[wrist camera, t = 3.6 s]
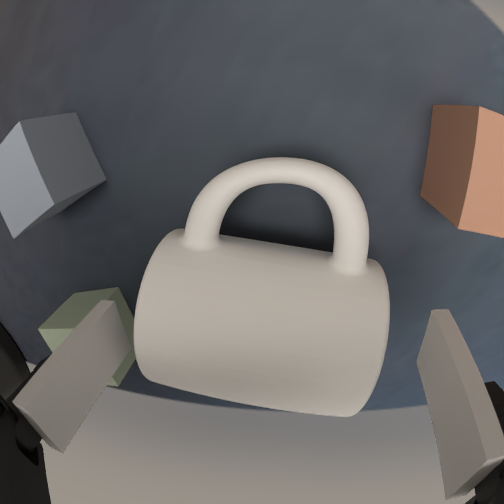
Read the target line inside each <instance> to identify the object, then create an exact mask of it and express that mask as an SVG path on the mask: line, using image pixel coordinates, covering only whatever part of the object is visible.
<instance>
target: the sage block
mask: <svg viewBox="0 0 504 504" xmlns="http://www.w3.org/2000/svg"><path fill="white" fill-rule="evenodd" d="M101 300H109V301H115V304H116V307H117V310H118V313H119V316H120V319H121V321H122V324H123V327H124V330H125V332H126V335H127V337H128V340H129V343H130V345H131V349H130V351H129V352H128V354H127V355H126V357H125V358H124V360H123V361H122V363H121V364H120V366H119V367H118V369H117V370H116V372H115V373H114V375H113V376H112V378H111V379H110V381H109V382H108V384H107V385H109V386H119V385H120V383H121V382H122V380H123V378H124V377H125V375H126V373H127V372H128V370H129V369H130V367H131V365H132V364H133V362H134V360H135V359H136V355H135V349H134V317H133V315H132V313H131V311H130V309H129V307H128V305H127V303H126V301H125V299H124V297H123V295H122V293H121V291H120V289H119V287H115V288H108V289H101V290H93V291H86V292H79V293H74V294H73V295H72V296H71V297H70V298H68V299H67V300H66V301H65V302H64V303H63V304H62V305H61V306H60V307H59V308H58V309H57V310H56V311H55V312H54V313H53V314H52V315H51V316H50V317H49V318H48V319H47V320H46V321H45V322H44V323H43V324H42V325H41V326H40V327H39V328H38V330H39V332H40V333H41V335H42V337H43V338H44V340H45V341H46V343H47V345H48V346H49V348H50V349H51V351H52V352H54V351H55V350H56V349H57V348H58V346H59V345H60V344H61V343H62V342H63V341H64V340H65V339H66V337H67V336H68V335H69V334H70V333H71V332H72V331H73V330H74V329H75V328H76V326H77V325H78V324H79V323H80V322H81V321H82V320H83V319H84V318H85V317H86V316H87V315H88V314H89V312H90V311H91V310H92V309H93V308H94V307H95V306H96V305H97V304H98V303H99V302H100V301H101Z"/></svg>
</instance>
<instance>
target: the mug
mask: <svg viewBox="0 0 504 504" xmlns="http://www.w3.org/2000/svg"><path fill="white" fill-rule="evenodd" d="M268 183H288V184H296V185H301V186H305V187H308V188H310V189H312V190H314V191H316V192H317V193H318V194H320V195H321V196H322V197H323V198H324V200H325V201H326V203H327V204H328V206H329V208H330V211H331V214H332V218H333V224H334V247H333V252H327V251H321V250H314V249H308V248H302V247H296V246H290V245H284V244H277V243H271V242H265V241H259V240H252V239H246V238H240V237H233V236H227V235H220V234H219V231H220V227H221V223H222V220H223V218H224V215H225V213H226V211H227V209H228V207H229V206H230V204H231V203H232V202H233V200H234V199H235V198H236V197H237V196H238V195H239V194H241V193H242V192H243V191H245V190H247V189H249V188H251V187H254V186H257V185H261V184H268ZM368 246H369V224H368V217H367V212H366V209H365V206H364V203H363V201H362V198H361V196H360V195H359V193H358V191H357V190H356V188H355V187H354V186H353V185H352V183H351V182H350V181H349V180H348V179H347V178H345V177H344V176H343V175H342V174H340V173H339V172H337V171H336V170H334V169H332V168H330V167H328V166H326V165H323V164H321V163H318V162H315V161H310V160H306V159H300V158H289V157H273V158H262V159H256V160H252V161H248V162H244V163H241V164H238V165H236V166H233V167H231V168H229V169H227V170H225V171H223V172H222V173H220V174H219V175H217V176H216V177H215V178H213V179H212V180H211V181H210V182H209V183H208V184H207V185H206V186H205V187H204V188H203V189H202V190H201V192H200V193H199V194H198V196H197V198H196V199H195V201H194V203H193V205H192V207H191V210H190V212H189V215H188V219H187V222H186V227H185V229H175V230H173V231H171V232H170V233H168V234H167V235H166V236H165V237H164V238H163V239H162V240H161V242H160V243H159V245H158V246H157V248H156V249H155V251H154V253H153V255H152V256H151V259H150V261H149V263H148V265H147V268H146V270H145V273H144V276H143V279H142V282H141V286H140V289H139V293H138V298H137V303H136V309H135V318H134V349H135V355H136V360H137V363H138V366H139V368H140V371H141V372H142V374H143V375H144V376H145V377H146V378H147V379H148V380H150V381H153V382H156V383H159V384H163V385H166V386H170V387H174V388H177V389H181V390H185V391H189V392H193V393H197V394H201V395H206V396H210V397H214V398H219V399H223V400H228V401H233V402H238V403H243V404H249V405H254V406H260V407H266V408H272V409H279V410H286V411H293V412H301V413H309V414H318V415H328V416H339V417H340V416H341V417H350V416H353V415H355V414H356V413H357V412H359V411H360V410H361V409H362V407H363V406H364V405H365V404H366V402H367V400H368V399H369V397H370V395H371V393H372V391H373V389H374V387H375V385H376V382H377V380H378V377H379V374H380V371H381V367H382V364H383V360H384V356H385V351H386V346H387V340H388V332H389V321H390V300H389V290H388V284H387V279H386V276H385V273H384V271H383V269H382V267H381V265H380V264H379V263H378V262H377V261H375V260H373V259H368V258H367V255H368Z"/></svg>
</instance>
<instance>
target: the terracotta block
mask: <svg viewBox="0 0 504 504" xmlns="http://www.w3.org/2000/svg"><path fill="white" fill-rule="evenodd" d="M420 196H421V197H422V198H423V199H425V200H426V201H427V202H428V203H429V204H431V205H432V206H433V207H434V208H435V209H436V210H438V211H439V212H440V213H441V214H442V215H443V216H444V217H445V218H447V219H448V220H449V221H450V222H451V223H452V224H453V225H454V226H455V227H456V228H458V229H462V230H467V231H472V232H477V233H482V234H487V235H492V236H497V237H502V238H504V116H503V115H501V114H498V113H496V112H493V111H491V110H488V109H486V108H483V107H480V106H466V105H433V111H432V120H431V129H430V137H429V145H428V152H427V158H426V165H425V171H424V176H423V182H422V187H421V192H420Z"/></svg>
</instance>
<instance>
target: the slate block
mask: <svg viewBox="0 0 504 504" xmlns="http://www.w3.org/2000/svg"><path fill="white" fill-rule="evenodd" d="M105 180H107V179H106V177H105V175H104V173H103V171H102V169H101V167H100V165H99V163H98V160H97V158H96V156H95V154H94V152H93V150H92V148H91V145H90V143H89V141H88V139H87V137H86V134H85V132H84V130H83V127H82V125H81V123H80V121H79V118H78V116H77V113H76V112H74V113H66V114H59V115H52V116H46V117H40V118H34V119H28V120H23V121H19V122H18V123H17V125H16V126H15V127H14V128H13V129H12V131H11V132H10V133H9V134H8V136H7V137H6V138H5V139H4V141H3V142H2V143H1V145H0V211H1V214H2V216H3V218H4V220H5V222H6V224H7V226H8V229H9V231H10V233H11V235H12V237H13V239H14V238H16V237H18V236H19V235H21V234H23V233H24V232H26V231H28V230H29V229H31V228H33V227H34V226H36V225H38V224H40V223H41V222H43V221H45V220H47V219H48V218H50V217H52V216H54V215H56V214H57V213H59V212H61V211H62V210H64V209H65V208H67V207H68V206H69V205H71V204H72V203H73V202H75V201H76V200H78V199H79V198H81V197H82V196H83V195H85V194H86V193H88V192H89V191H91V190H92V189H94V188H95V187H96V186H98V185H99V184H101V183H102V182H104V181H105Z"/></svg>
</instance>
